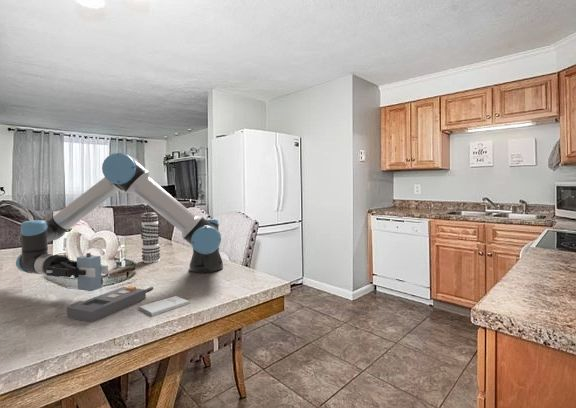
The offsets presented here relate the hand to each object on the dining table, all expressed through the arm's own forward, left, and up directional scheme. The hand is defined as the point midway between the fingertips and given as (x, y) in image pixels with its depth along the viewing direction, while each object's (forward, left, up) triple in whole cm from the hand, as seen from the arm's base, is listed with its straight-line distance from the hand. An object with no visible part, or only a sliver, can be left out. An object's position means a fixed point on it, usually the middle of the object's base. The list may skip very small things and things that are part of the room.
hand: (100, 271), depth 105 cm
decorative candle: (-30, -49, -10) cm, 58 cm away
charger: (+3, -5, -6) cm, 8 cm away
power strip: (-5, +5, -10) cm, 12 cm away
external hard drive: (-15, +18, -11) cm, 26 cm away
